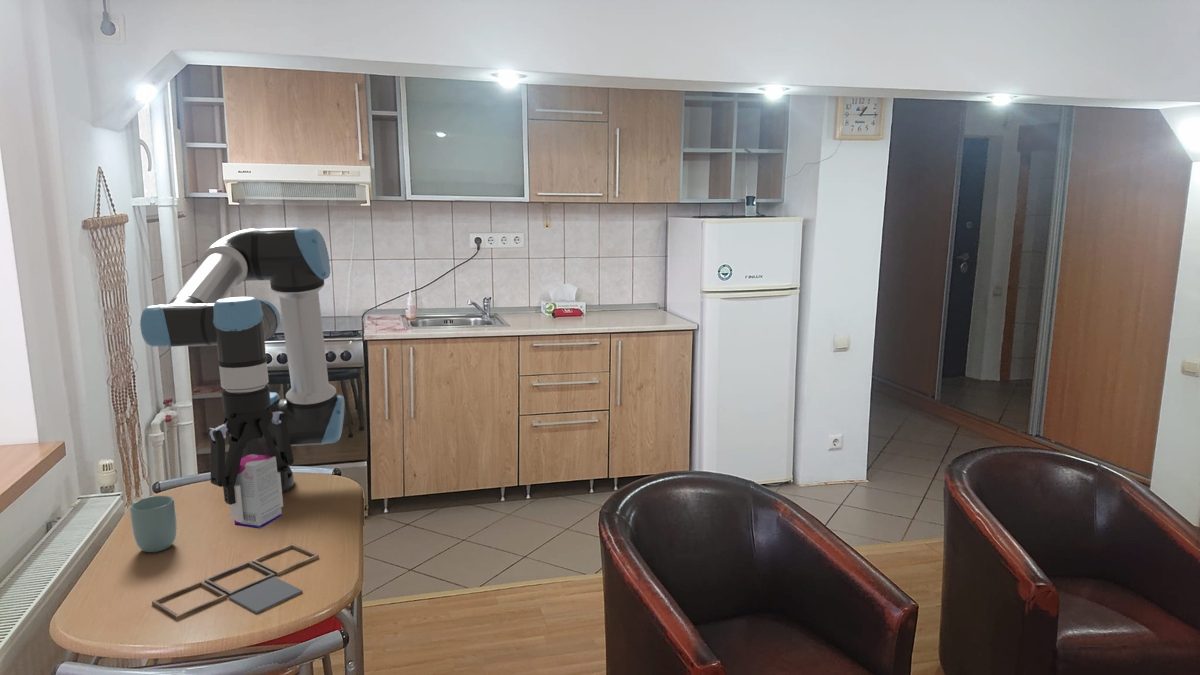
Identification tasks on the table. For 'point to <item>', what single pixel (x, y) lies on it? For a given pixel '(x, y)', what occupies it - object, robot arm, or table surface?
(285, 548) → the frame
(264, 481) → the supplement box
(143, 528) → the cup
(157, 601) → the frame
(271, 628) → the table surface
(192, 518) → the table surface
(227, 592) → the frame
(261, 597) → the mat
